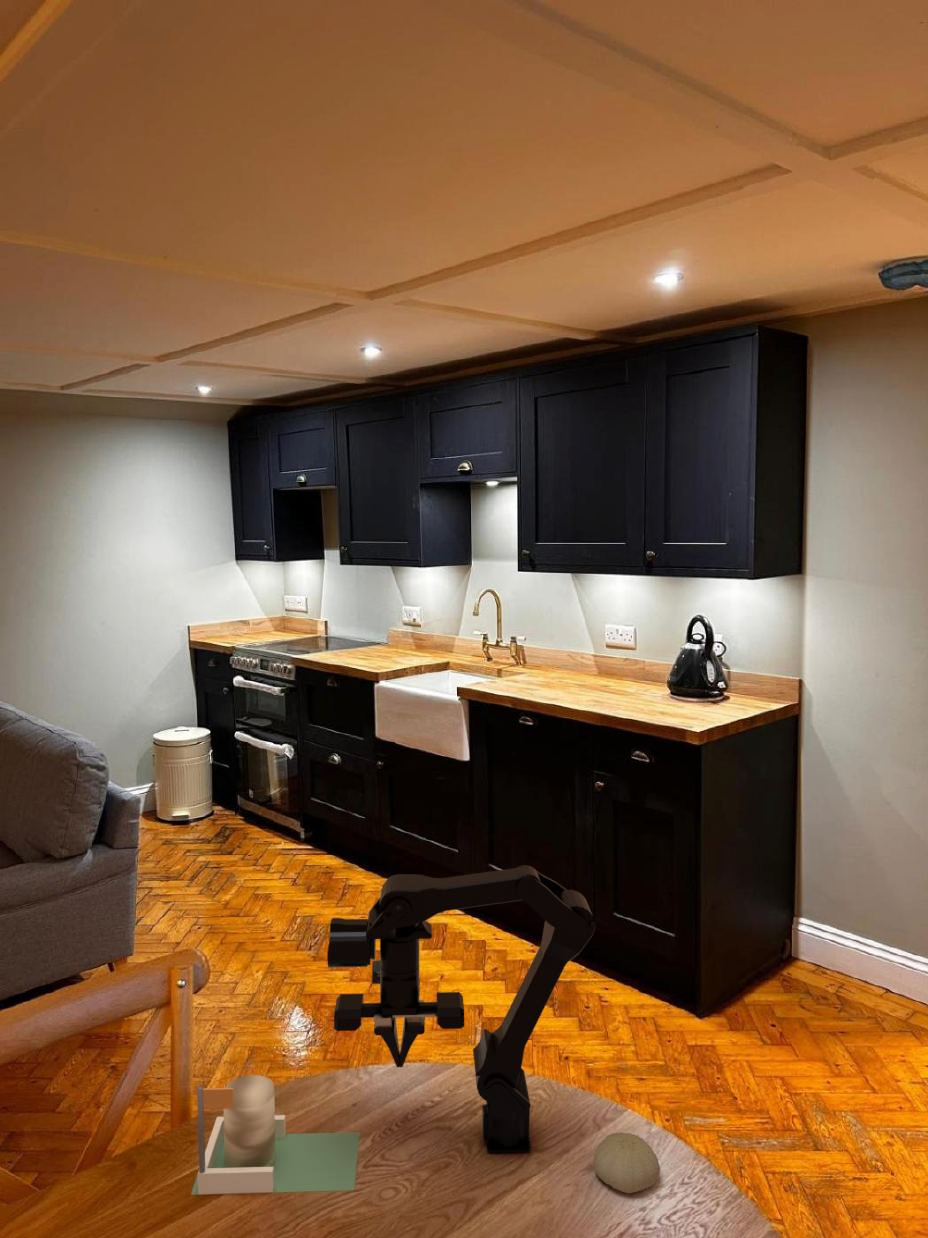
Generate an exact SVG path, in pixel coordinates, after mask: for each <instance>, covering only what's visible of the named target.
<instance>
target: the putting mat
mask: <svg viewBox="0 0 928 1238" xmlns="http://www.w3.org/2000/svg"><path fill="white" fill-rule="evenodd" d="M360 1135H361V1131H355V1132H354V1131H353V1132H352V1131H351V1132H348V1131H347V1132H318V1133H317V1132H314V1133H308V1132H307V1133H286V1134H285V1138H283V1139H275V1164H274V1166H273V1167H274V1189H273V1192H267V1193H266V1194H274V1193H309V1192H311V1193H312V1192H343V1191H346V1192H347V1191H355V1184H356V1175H357V1165H358V1164H357V1163H358V1154H359V1145H360ZM214 1168H225V1152H224V1140H223V1141H222V1145H221V1148H220V1151H219V1154H218V1157H217V1160H216V1163H215V1167H214ZM234 1194H235V1195H237V1194H238V1195H240V1194H245V1193H231V1194H230V1195H234ZM190 1195H191V1196H197V1195H198V1196H200V1195H203V1196H204V1195H205V1196H206V1195H209V1194H198V1174H197V1175H196V1177H195V1181H194V1184H193V1187H192V1189H191V1193H190Z"/></svg>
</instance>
